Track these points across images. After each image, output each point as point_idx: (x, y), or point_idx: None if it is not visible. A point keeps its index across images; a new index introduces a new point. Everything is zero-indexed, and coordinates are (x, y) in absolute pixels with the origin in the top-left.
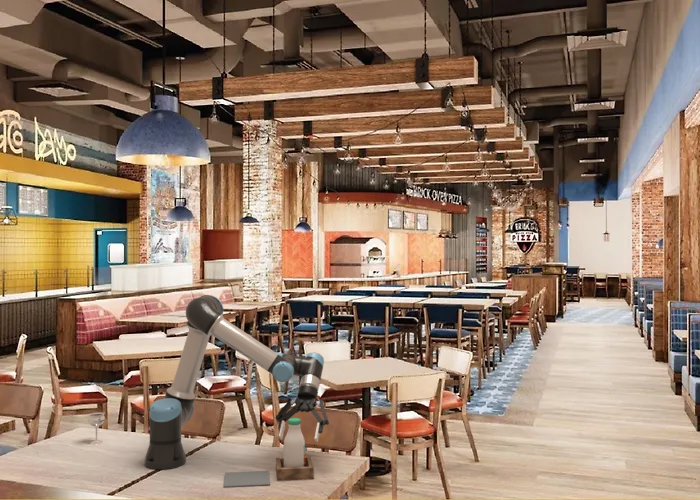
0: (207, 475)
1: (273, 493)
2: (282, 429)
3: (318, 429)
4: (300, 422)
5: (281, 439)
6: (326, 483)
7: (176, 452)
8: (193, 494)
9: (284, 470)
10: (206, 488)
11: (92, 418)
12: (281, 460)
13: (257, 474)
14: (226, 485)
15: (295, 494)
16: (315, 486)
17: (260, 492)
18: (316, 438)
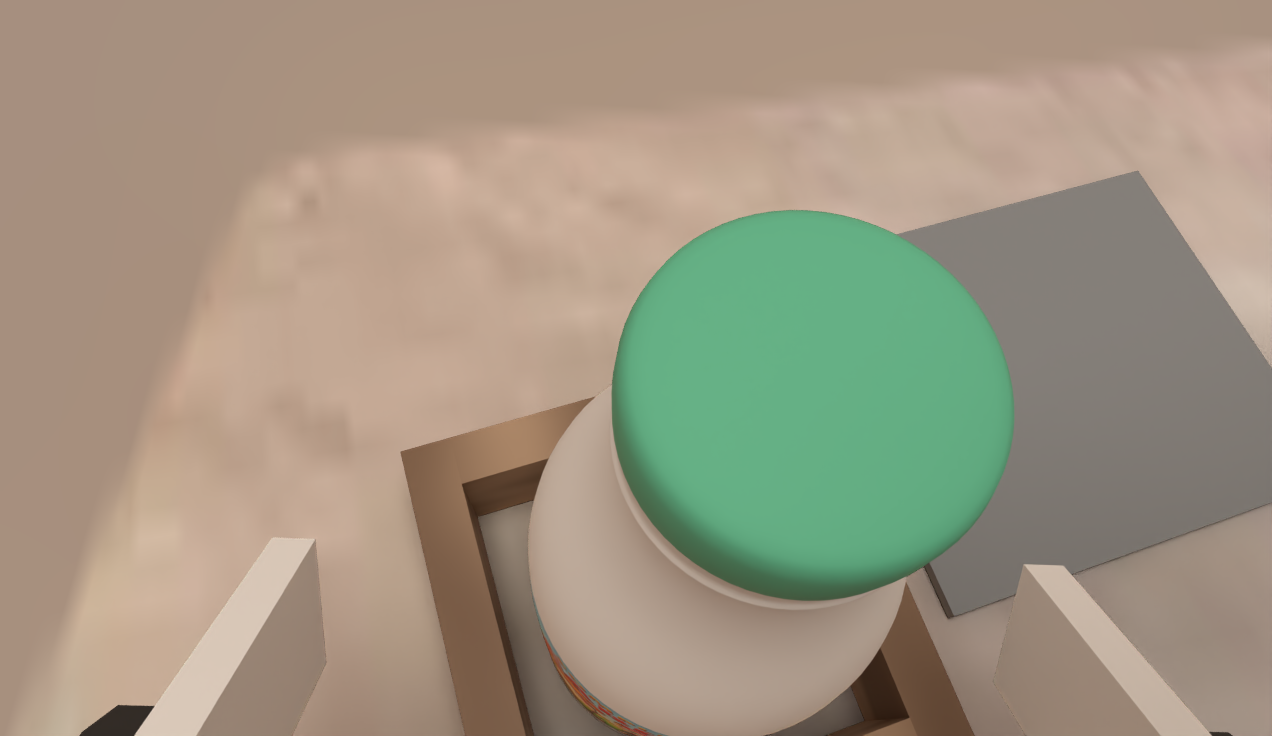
0: None
1: (702, 128)
2: (1109, 701)
3: (166, 717)
4: (612, 392)
5: (1004, 664)
6: (280, 394)
7: None
8: (1248, 49)
9: None
10: (1241, 151)
11: None
12: (885, 724)
13: (1016, 477)
14: (1125, 186)
15: (524, 131)
16: (381, 308)
17: (808, 133)
18: (271, 542)
